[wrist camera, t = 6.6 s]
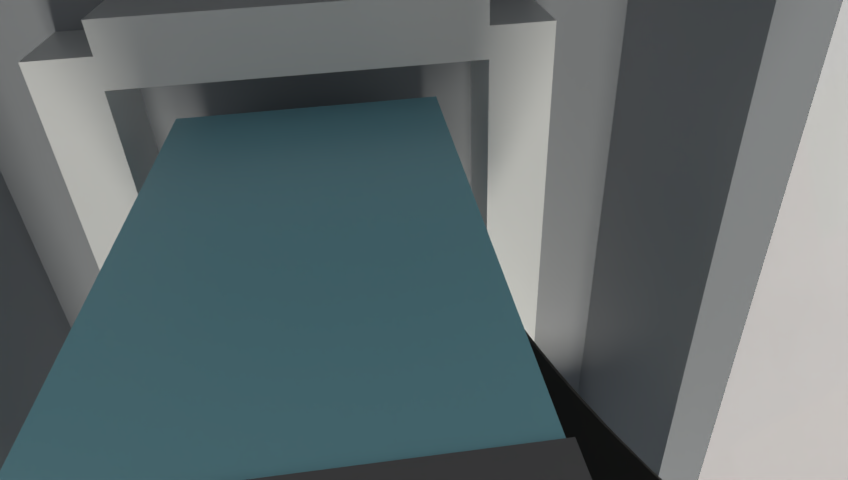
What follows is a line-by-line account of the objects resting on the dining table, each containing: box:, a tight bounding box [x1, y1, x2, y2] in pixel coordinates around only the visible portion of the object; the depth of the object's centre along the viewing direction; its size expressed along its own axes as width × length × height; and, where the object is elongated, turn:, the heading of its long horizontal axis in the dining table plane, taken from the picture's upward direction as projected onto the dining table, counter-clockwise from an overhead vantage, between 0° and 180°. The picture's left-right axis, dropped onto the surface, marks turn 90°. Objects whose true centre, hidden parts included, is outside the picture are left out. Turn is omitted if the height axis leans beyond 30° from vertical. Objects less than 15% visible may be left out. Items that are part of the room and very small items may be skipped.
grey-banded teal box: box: [0, 96, 592, 480], centre depth 8 cm, size 4×6×8 cm
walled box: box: [0, 0, 843, 480], centre depth 11 cm, size 13×18×4 cm
